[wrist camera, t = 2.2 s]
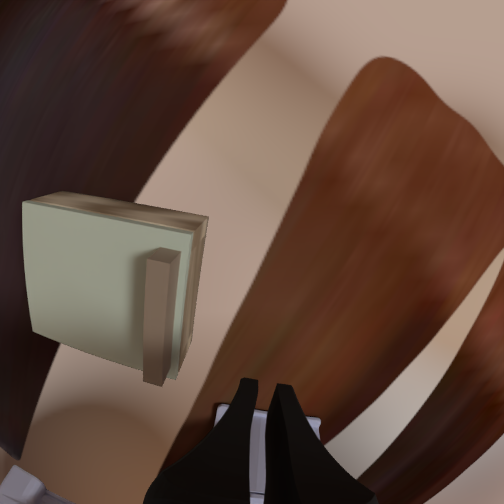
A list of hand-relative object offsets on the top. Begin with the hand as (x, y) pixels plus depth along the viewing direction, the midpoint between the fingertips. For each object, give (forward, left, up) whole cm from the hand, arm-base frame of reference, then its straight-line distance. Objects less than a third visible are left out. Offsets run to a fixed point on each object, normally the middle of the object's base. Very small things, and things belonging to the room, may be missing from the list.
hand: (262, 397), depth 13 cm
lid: (+11, 0, -6) cm, 13 cm away
